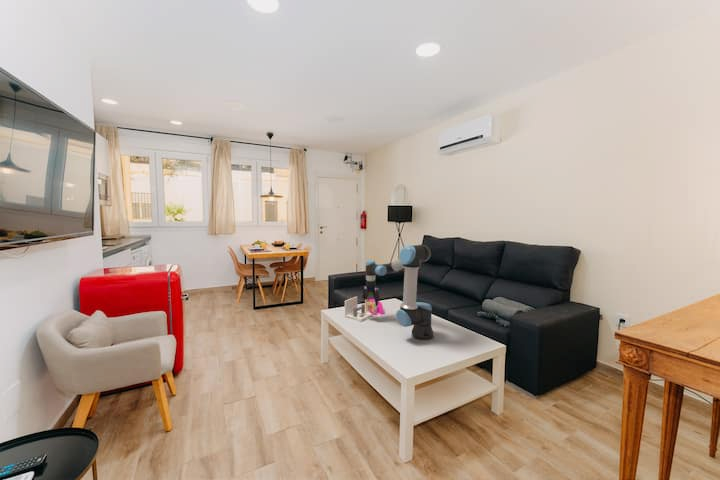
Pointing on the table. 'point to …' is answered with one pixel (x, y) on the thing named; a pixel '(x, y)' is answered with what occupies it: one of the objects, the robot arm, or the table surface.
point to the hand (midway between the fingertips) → (371, 308)
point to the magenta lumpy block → (379, 308)
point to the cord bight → (369, 306)
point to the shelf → (355, 310)
